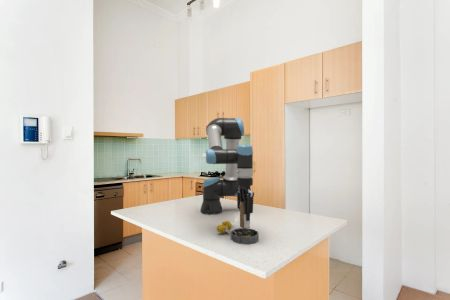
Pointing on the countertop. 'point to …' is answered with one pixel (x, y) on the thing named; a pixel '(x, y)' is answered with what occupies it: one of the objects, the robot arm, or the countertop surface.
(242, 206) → the wooden beam block
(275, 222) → the countertop surface
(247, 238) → the tin
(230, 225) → the pressure relief valve
